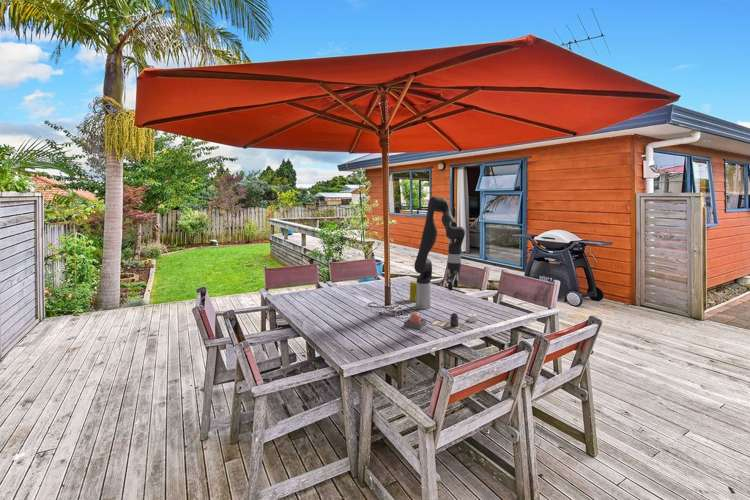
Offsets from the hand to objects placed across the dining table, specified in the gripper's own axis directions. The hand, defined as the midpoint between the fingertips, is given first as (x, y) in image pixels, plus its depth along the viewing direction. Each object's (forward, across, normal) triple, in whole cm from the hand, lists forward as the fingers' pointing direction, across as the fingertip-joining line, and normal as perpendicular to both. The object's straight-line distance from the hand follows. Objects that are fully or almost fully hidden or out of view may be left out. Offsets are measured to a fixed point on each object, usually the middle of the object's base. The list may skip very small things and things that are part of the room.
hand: (453, 288), depth 215 cm
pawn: (+19, -7, -4) cm, 21 cm away
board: (+20, -7, 0) cm, 22 cm away
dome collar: (+21, -18, +15) cm, 31 cm away
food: (+22, +36, +41) cm, 59 cm away
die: (+20, +7, -10) cm, 24 cm away
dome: (+19, -18, +15) cm, 30 cm away
